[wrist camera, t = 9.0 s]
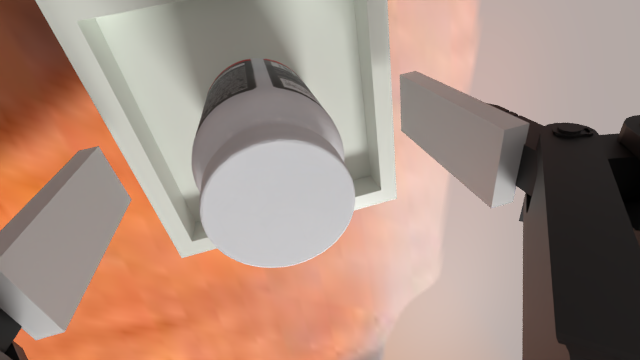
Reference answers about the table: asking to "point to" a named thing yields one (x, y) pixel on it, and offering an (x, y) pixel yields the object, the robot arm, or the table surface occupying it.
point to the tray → (207, 63)
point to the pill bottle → (269, 167)
